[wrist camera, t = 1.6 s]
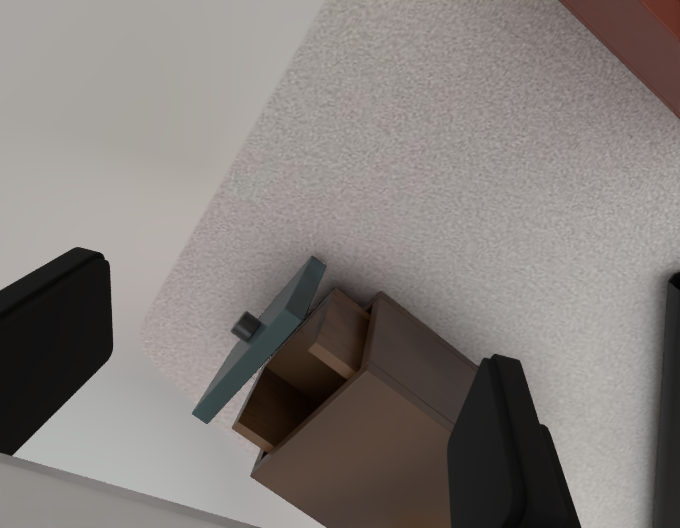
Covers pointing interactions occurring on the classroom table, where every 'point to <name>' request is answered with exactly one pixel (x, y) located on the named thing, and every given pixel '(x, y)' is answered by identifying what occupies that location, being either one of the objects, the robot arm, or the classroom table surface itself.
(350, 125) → the classroom table surface
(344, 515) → the cabinet
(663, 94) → the chest
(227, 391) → the drawer
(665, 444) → the black journal
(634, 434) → the classroom table surface
